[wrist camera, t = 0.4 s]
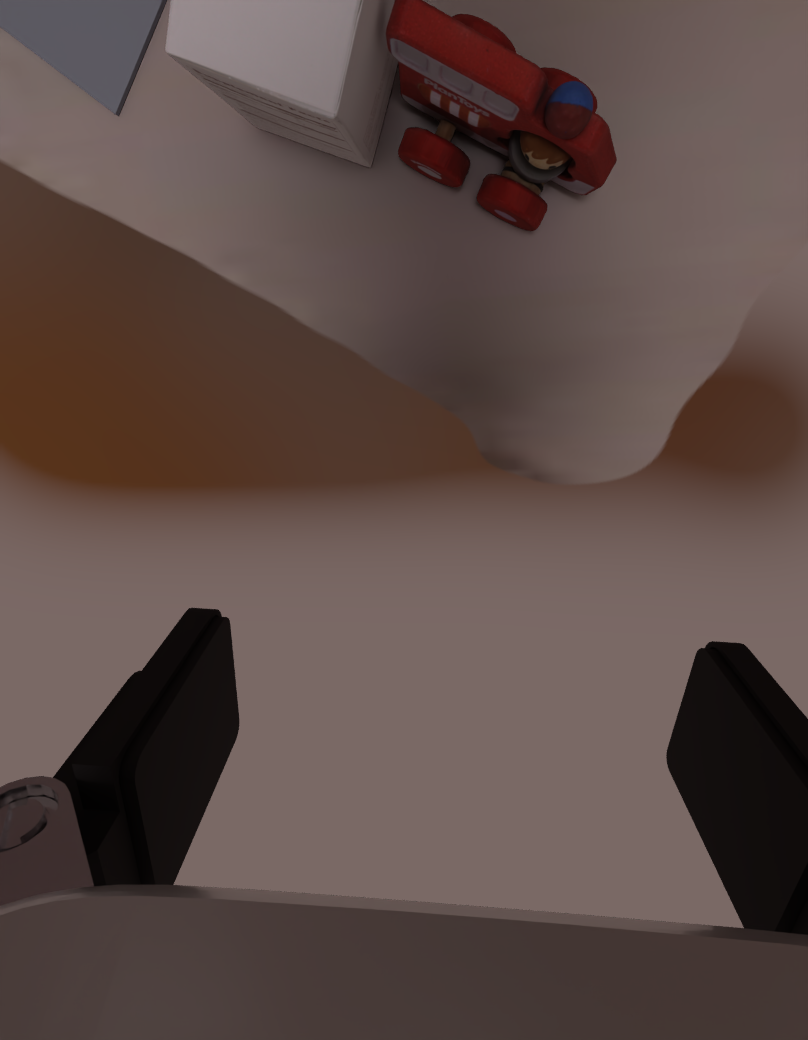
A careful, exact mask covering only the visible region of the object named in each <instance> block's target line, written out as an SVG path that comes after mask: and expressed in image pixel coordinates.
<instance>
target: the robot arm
mask: <svg viewBox="0 0 808 1040" xmlns="http://www.w3.org/2000/svg"><path fill="white" fill-rule="evenodd" d="M238 730H239V712H238V701H237V691H236V680H235V670H234V659H233V650H232V638H231V629H230V621H229V619H228V618H227V617H222V616H221V613H220V611H219V610H216V609H200V608H189V609H188V610H187V611H186V612H185V614H184V615H183V616H182V618H181V619H180V620H179V622H178V623H177V624H176V626H175V627H174V628H173V630H172V631H171V632H170V634H169V635H168V636H167V638H166V639H165V640H164V642H163V643H162V645H161V646H160V647H159V648H158V650H157V651H156V652H155V654H154V655H153V657H152V658H151V659H150V660H149V662H148V663H147V665H146V666H145V667H144V668H143V670H142V671H138V672H135V673H134V674H133V675H132V676H131V677H130V678H129V679H128V680H127V682H126V683H125V684H124V686H123V687H122V688H121V689H120V691H119V692H118V693H117V695H116V696H115V697H114V699H113V700H112V701H111V702H110V704H109V705H108V706H107V708H106V709H105V710H104V712H103V713H102V714H101V716H100V717H99V718H98V719H97V721H96V722H95V724H94V725H93V726H92V727H91V729H90V730H89V731H88V733H87V734H86V735H85V736H84V738H83V739H82V740H81V742H80V743H79V744H78V746H77V747H76V748H75V749H74V751H73V752H72V753H71V755H70V756H69V757H68V759H67V760H66V761H65V763H64V764H63V765H62V766H61V768H60V769H59V770H58V772H57V773H56V774H55V776H54V777H53V778H51V777H44V776H39V777H30V778H24V779H20V780H17V781H14V782H10V783H8V784H6V785H4V786H2V787H0V1040H808V719H807V717H806V716H805V715H804V714H803V713H802V711H801V710H800V709H799V708H798V707H797V706H796V704H795V703H794V702H793V701H792V700H791V698H790V697H789V696H788V695H787V694H786V693H785V691H784V690H783V689H782V688H781V687H780V686H779V684H778V683H777V682H776V681H775V680H774V679H773V677H772V676H771V675H770V674H769V673H768V671H767V670H766V669H765V668H764V667H763V666H762V664H761V663H760V662H759V661H758V660H757V658H756V657H755V656H754V655H753V654H752V652H751V651H750V650H749V649H748V648H747V647H746V646H745V645H744V644H741V643H728V642H713V641H712V642H709V643H708V644H707V645H706V647H705V648H701V649H699V650H698V651H697V653H696V656H695V659H694V662H693V666H692V669H691V672H690V676H689V679H688V682H687V686H686V689H685V693H684V696H683V699H682V702H681V706H680V709H679V712H678V716H677V719H676V722H675V726H674V729H673V732H672V736H671V739H670V742H669V746H668V749H667V764H668V768H669V771H670V773H671V775H672V777H673V780H674V781H675V784H676V786H677V788H678V790H679V792H680V794H681V796H682V798H683V801H684V803H685V805H686V807H687V809H688V811H689V813H690V815H691V817H692V819H693V821H694V823H695V826H696V828H697V830H698V832H699V834H700V836H701V838H702V840H703V842H704V845H705V847H706V849H707V851H708V853H709V855H710V857H711V859H712V861H713V864H714V865H715V867H716V870H717V872H718V874H719V876H720V878H721V880H722V882H723V885H724V887H725V889H726V891H727V893H728V895H729V897H730V899H731V901H732V903H733V905H734V908H735V910H736V912H737V914H738V916H739V918H740V920H741V922H742V924H743V927H744V928H733V927H722V926H710V925H699V924H687V923H675V922H664V921H652V920H640V919H629V918H616V917H605V916H594V915H593V916H592V915H580V914H569V913H556V912H544V911H532V910H519V909H506V908H494V907H481V906H469V905H456V904H442V903H430V902H417V901H405V900H390V899H378V898H364V897H349V896H337V895H336V896H335V895H322V894H310V893H296V892H282V891H269V890H253V889H235V888H217V887H198V886H180V885H173V884H174V882H175V880H176V877H177V875H178V873H179V870H180V868H181V866H182V863H183V861H184V859H185V856H186V854H187V852H188V849H189V847H190V845H191V843H192V840H193V838H194V836H195V833H196V831H197V829H198V826H199V824H200V822H201V819H202V817H203V815H204V812H205V810H206V807H207V806H208V803H209V801H210V798H211V796H212V794H213V792H214V789H215V787H216V785H217V782H218V780H219V778H220V775H221V773H222V771H223V769H224V766H225V764H226V762H227V759H228V757H229V755H230V752H231V750H232V748H233V745H234V743H235V741H236V738H237V734H238Z"/></svg>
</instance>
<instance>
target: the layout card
mask: <svg viewBox="0 0 808 1040" xmlns="http://www.w3.org/2000/svg"><path fill="white" fill-rule="evenodd" d="M166 1H167V0H0V27H1V28H2V29H4V30H5V31H6V32H8V33H9V34H10V35H12V36H13V37H14V38H16V39H17V40H18V41H19V42H21V43H22V44H23V45H25V46H26V47H27V48H29V49H30V50H31V51H33V52H34V53H35V54H37V55H38V56H39V57H41V58H42V59H43V60H44V61H46V62H47V63H48V64H50V65H51V66H52V67H54V68H55V69H56V70H58V71H59V72H60V73H62V74H63V75H64V76H66V77H67V78H68V79H69V80H71V81H72V82H73V83H75V84H76V85H77V86H79V87H80V88H81V89H83V90H84V91H85V92H87V93H88V94H89V95H90V96H92V97H93V98H94V99H96V100H97V101H98V102H100V103H101V104H102V105H104V106H105V107H106V108H108V109H109V110H110V111H112V112H113V113H114V114H116V115H118V116H119V114H120V112H121V109H122V107H123V105H124V102H125V100H126V97H127V95H128V92H129V90H130V88H131V85H132V83H133V80H134V78H135V76H136V73H137V71H138V68H139V66H140V64H141V61H142V59H143V56H144V54H145V51H146V49H147V47H148V44H149V42H150V39H151V37H152V35H153V32H154V30H155V27H156V25H157V23H158V20H159V18H160V15H161V13H162V11H163V8H164V6H165V3H166Z"/></svg>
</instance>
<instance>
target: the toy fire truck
mask: <svg viewBox="0 0 808 1040" xmlns="http://www.w3.org/2000/svg"><path fill="white" fill-rule="evenodd" d="M386 40H387V46H388V50H389V51H390V53H391V54H392V55H393V56H394V57H395V58H396V59H397V60H398V64H399V75H400V89H401V95H402V97H403V98H404V100H406V101H407V102H408V103H409V104H410V105H412V106H413V107H415V108H417V109H419V110H421V111H422V112H424V113H426V114H428V115H430V116H432V117H434V118H435V119H436V120H437V121H438V122H440V124H439V126H438V128H437V131H436V133H435V134H433V133H432V132H430V131H428V130H426V129H422V128H419V127H412V128H411V127H410V128H407V129H406V131H405V133H404V136H403V139H402V142H401V144H400V147H399V150H398V155H399V157H400V158H401V160H402V161H403V162H405V163H406V164H407V165H409V166H410V167H411V168H413V169H415V170H416V171H418V172H419V173H421V174H423V175H425V176H427V177H428V178H430V179H433V180H435V181H437V182H439V183H441V184H444V185H447V186H450V187H459V186H461V185H462V183H463V181H464V179H465V177H466V175H467V173H468V170H469V168H470V159H469V158H468V156H467V155H466V154H465V153H464V152H463V151H462V150H461V149H459V148H458V147H457V146H455V145H454V144H453V143H451V142H450V141H451V139H452V136H453V134H454V132H455V131H457V132H461V133H463V134H465V135H467V136H469V137H471V138H473V139H475V140H477V141H479V142H481V143H482V144H484V145H486V146H488V147H490V148H492V149H494V150H495V151H497V152H499V153H501V154H503V155H505V156H507V157H509V161H507V162H506V164H505V167H504V169H503V172H502V173H501V175H497V174H488V175H487V176H486V177H485V178H484V179H483V183H482V185H481V188H480V190H479V192H478V194H477V201H478V203H479V204H480V205H481V206H482V207H483V208H485V209H486V210H487V211H489V212H490V213H492V214H493V215H495V216H496V217H498V218H500V219H502V220H504V221H506V222H508V223H510V224H512V225H514V226H517V227H519V228H521V229H525V230H528V231H534V230H536V229H537V228H538V227H539V225H540V223H541V221H542V219H543V217H544V215H545V213H546V212H547V204H546V202H545V201H544V200H543V199H542V198H541V197H540V196H539V194H540V192H542V190H543V186H544V184H545V182H548V181H550V180H551V181H553V182H555V183H557V184H559V185H561V186H562V187H564V188H566V189H568V190H570V191H572V192H574V193H577V194H580V195H587V194H589V193H591V192H592V191H594V190H596V189H598V188H599V187H601V186H602V185H603V184H604V182H605V181H606V179H607V177H608V175H609V174H610V172H611V170H612V168H613V166H614V165H615V163H616V154H615V151H614V147H613V143H612V139H611V134H610V130H609V127H608V125H607V123H606V122H605V121H604V120H603V118H602V117H600V116H599V115H598V114H596V113H595V112H596V109H597V100H596V97H595V96H594V94H593V92H592V91H591V90H590V89H589V87H588V86H587V85H586V84H584V83H583V82H582V81H580V80H579V79H578V78H576V77H574V76H572V75H570V74H568V73H566V72H564V71H561V70H558V69H555V68H539V67H538V66H537V65H536V64H534V63H532V62H531V61H529V60H527V59H525V58H523V57H522V56H520V55H518V54H516V50H515V48H514V46H513V44H512V43H511V41H510V40H509V39H508V38H507V37H506V36H505V34H504V33H503V32H501V31H500V30H499V29H498V28H496V27H495V26H493V25H492V24H490V23H488V22H487V21H484V20H483V19H481V18H478V17H475V16H473V15H468V14H458V15H455V16H453V17H450V16H449V15H447V14H445V13H444V12H442V11H440V10H438V9H437V8H435V7H433V6H431V5H429V4H428V3H426V2H424V1H422V0H395V2H394V5H393V8H392V12H391V15H390V18H389V21H388V25H387V28H386Z"/></svg>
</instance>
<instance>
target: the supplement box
mask: <svg viewBox="0 0 808 1040" xmlns="http://www.w3.org/2000/svg"><path fill="white" fill-rule="evenodd" d="M394 2H395V0H171V2H170V11H169V20H168V29H167V38H166V45H165V51H166V53H167V54H168V55H170V56H171V57H172V58H173V59H174V60H175V61H177V62H178V63H179V64H181V65H182V66H183V67H184V68H185V69H187V70H188V71H189V72H190V73H191V74H192V75H194V76H195V77H196V78H197V79H199V80H200V81H201V82H202V83H204V84H205V85H206V86H207V87H209V88H210V89H211V90H213V91H214V92H215V93H216V94H217V95H218V96H220V97H221V98H222V99H223V100H224V101H226V102H227V103H228V104H229V105H230V106H231V107H233V108H234V109H235V110H236V111H237V112H239V113H240V114H241V115H242V116H243V117H244V118H246V119H247V120H248V121H249V122H250V123H251V124H253V125H254V126H255V127H257V128H258V129H261V130H265V131H268V132H270V133H273V134H276V135H279V136H282V137H285V138H287V139H290V140H293V141H296V142H298V143H301V144H304V145H307V146H309V147H312V148H315V149H318V150H321V151H323V152H326V153H329V154H332V155H335V156H337V157H340V158H343V159H346V160H348V161H351V162H354V163H357V164H360V165H363V166H366V167H371V165H372V162H373V159H374V155H375V151H376V148H377V144H378V140H379V137H380V133H381V129H382V125H383V121H384V117H385V113H386V109H387V105H388V101H389V97H390V93H391V89H392V85H393V81H394V77H395V73H396V69H397V65H398V60H397V59H396V58H395V57H394V56H393V55H392V54H391V53H390V51H389V50H388V46H387V40H386V28H387V25H388V21H389V18H390V15H391V12H392V8H393V5H394Z"/></svg>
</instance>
